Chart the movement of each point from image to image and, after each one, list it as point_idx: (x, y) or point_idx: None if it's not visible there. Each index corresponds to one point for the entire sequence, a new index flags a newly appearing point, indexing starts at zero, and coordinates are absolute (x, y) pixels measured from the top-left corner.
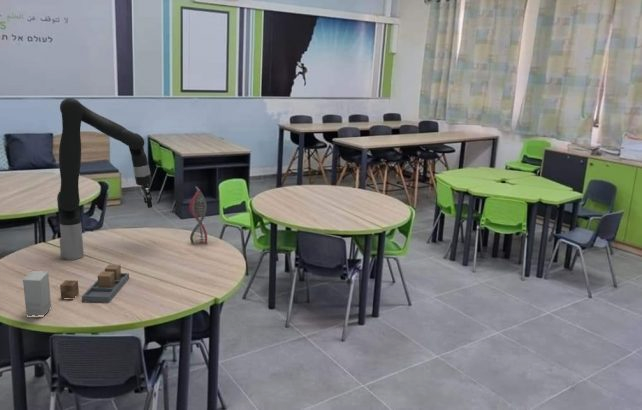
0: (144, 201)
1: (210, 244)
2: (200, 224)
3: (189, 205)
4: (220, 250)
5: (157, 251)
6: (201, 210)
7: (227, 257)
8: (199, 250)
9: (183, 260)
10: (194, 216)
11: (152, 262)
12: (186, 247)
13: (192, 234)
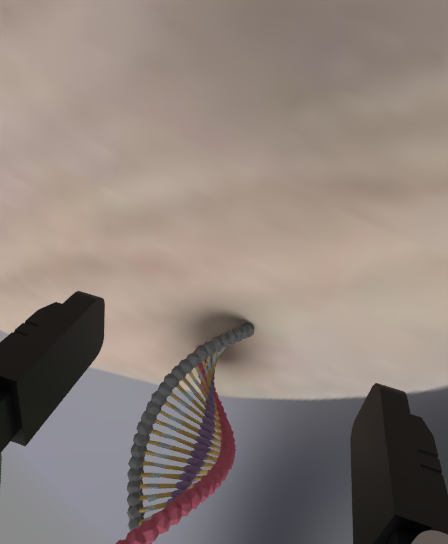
0: (387, 407)
1: None
2: (222, 428)
3: (147, 528)
4: (109, 343)
5: (206, 131)
6: (148, 510)
7: None
8: (136, 295)
9: (34, 184)
10: (217, 461)
11: (35, 21)
12: (196, 277)
13: (196, 351)
